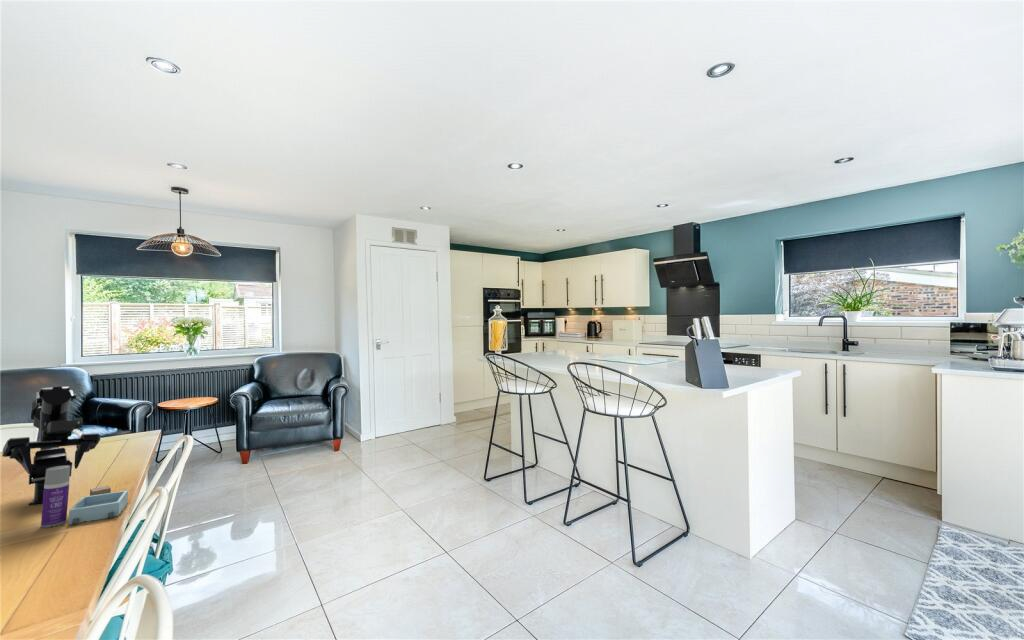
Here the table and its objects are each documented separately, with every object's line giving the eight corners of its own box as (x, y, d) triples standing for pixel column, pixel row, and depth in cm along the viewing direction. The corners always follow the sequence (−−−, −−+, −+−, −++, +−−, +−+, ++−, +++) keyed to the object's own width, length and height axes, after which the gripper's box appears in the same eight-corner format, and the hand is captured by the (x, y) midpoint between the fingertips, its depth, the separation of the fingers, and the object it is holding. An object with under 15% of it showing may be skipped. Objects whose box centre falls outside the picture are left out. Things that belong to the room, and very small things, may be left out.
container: (49, 528, 110) (53, 470, 111) (35, 526, 111) (40, 469, 112) (70, 521, 114) (75, 465, 115) (58, 519, 115) (62, 464, 116)
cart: (83, 508, 123) (83, 495, 123) (128, 501, 129) (128, 489, 129) (66, 526, 111) (67, 512, 111) (117, 517, 116) (118, 503, 117)
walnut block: (89, 502, 129) (90, 488, 129) (107, 498, 132) (107, 485, 132) (92, 504, 126) (92, 491, 126) (110, 500, 129) (110, 487, 130)
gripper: (15, 409, 115) (12, 460, 108) (105, 407, 131) (108, 451, 124) (3, 431, 119) (-1, 481, 112) (92, 426, 134) (94, 470, 127)
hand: (53, 470), depth 119 cm, fingers open, 9 cm apart
